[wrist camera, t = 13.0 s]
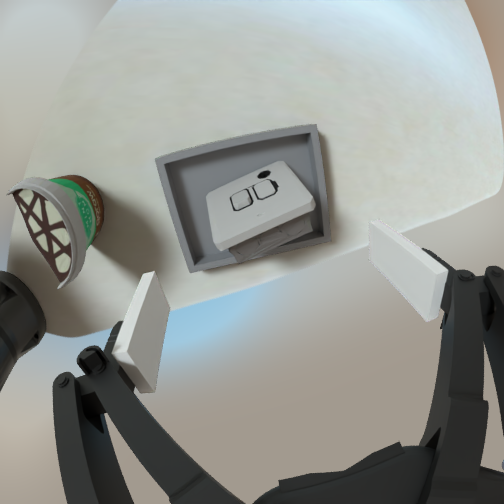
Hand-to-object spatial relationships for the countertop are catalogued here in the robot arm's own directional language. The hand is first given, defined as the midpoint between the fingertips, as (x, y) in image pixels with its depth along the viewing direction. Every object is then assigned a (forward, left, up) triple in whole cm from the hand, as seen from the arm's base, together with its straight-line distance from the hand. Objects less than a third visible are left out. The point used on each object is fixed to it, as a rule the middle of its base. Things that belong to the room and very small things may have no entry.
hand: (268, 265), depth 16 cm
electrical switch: (+1, 0, -17) cm, 17 cm away
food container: (-19, +4, -17) cm, 26 cm away
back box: (0, 0, -17) cm, 17 cm away
